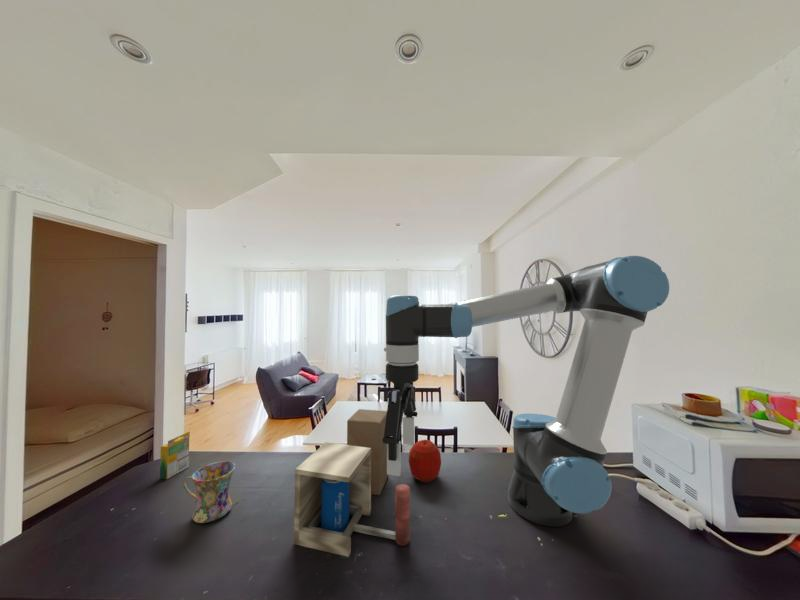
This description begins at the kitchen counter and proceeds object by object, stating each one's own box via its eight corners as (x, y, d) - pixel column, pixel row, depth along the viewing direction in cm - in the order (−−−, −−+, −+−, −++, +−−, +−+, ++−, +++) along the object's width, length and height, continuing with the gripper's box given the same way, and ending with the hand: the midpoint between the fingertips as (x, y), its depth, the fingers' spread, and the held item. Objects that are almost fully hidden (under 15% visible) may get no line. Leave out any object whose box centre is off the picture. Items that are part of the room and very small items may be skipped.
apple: (419, 465, 93) (419, 430, 93) (447, 475, 87) (447, 437, 88) (402, 480, 85) (402, 441, 85) (431, 492, 79) (431, 450, 79)
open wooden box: (370, 512, 71) (371, 447, 72) (348, 556, 58) (348, 477, 59) (324, 503, 74) (325, 442, 75) (293, 544, 61) (295, 469, 62)
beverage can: (324, 542, 62) (325, 486, 62) (318, 522, 67) (319, 471, 68) (352, 531, 65) (352, 478, 65) (344, 513, 70) (345, 465, 71)
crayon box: (181, 466, 93) (183, 430, 93) (189, 467, 92) (190, 431, 93) (158, 478, 85) (160, 440, 86) (166, 480, 85) (168, 441, 85)
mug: (241, 500, 75) (242, 460, 76) (221, 526, 66) (222, 480, 67) (194, 502, 75) (196, 461, 75) (168, 529, 65) (170, 482, 66)
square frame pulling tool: (414, 525, 66) (413, 477, 67) (404, 559, 57) (404, 503, 57) (327, 508, 72) (327, 464, 72) (305, 537, 62) (306, 486, 63)
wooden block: (380, 496, 77) (380, 422, 78) (346, 491, 79) (346, 420, 80) (388, 475, 87) (388, 410, 88) (358, 472, 89) (358, 408, 90)
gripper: (399, 354, 77) (399, 432, 76) (367, 372, 53) (366, 488, 52) (426, 355, 75) (426, 436, 74) (405, 375, 51) (405, 494, 50)
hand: (401, 457), depth 63 cm, fingers open, 13 cm apart
